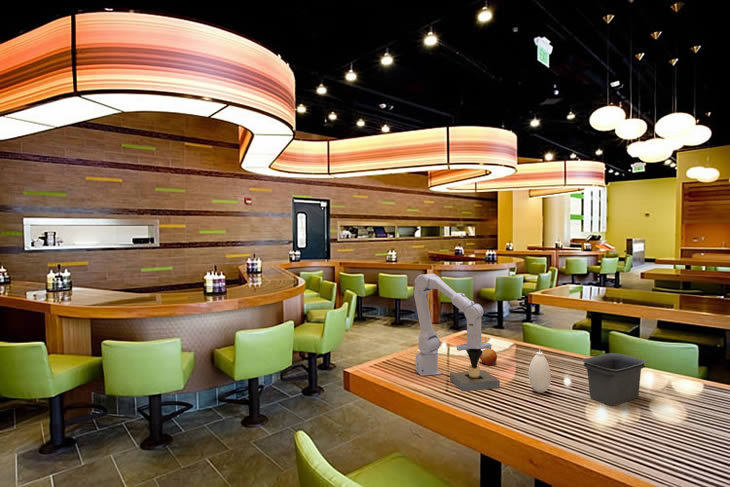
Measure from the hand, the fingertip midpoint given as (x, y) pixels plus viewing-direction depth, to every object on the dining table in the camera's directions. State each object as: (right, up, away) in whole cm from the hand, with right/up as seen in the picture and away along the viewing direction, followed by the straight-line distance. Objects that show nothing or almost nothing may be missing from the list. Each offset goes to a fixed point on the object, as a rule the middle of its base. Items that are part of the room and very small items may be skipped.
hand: (474, 366), depth 160 cm
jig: (0, -7, 0) cm, 7 cm away
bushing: (0, -7, 0) cm, 7 cm away
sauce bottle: (+23, -7, -9) cm, 26 cm away
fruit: (+14, -7, +26) cm, 31 cm away
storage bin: (+48, -7, -14) cm, 50 cm away
